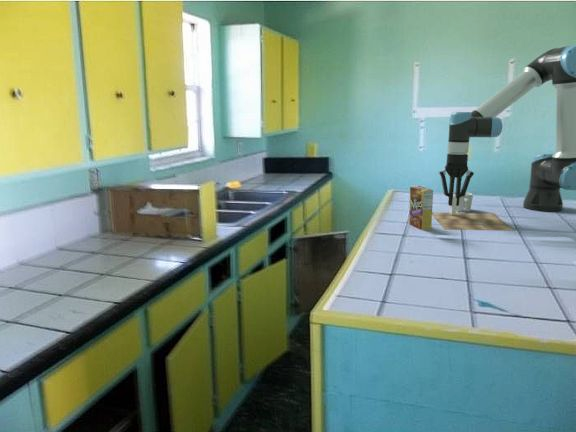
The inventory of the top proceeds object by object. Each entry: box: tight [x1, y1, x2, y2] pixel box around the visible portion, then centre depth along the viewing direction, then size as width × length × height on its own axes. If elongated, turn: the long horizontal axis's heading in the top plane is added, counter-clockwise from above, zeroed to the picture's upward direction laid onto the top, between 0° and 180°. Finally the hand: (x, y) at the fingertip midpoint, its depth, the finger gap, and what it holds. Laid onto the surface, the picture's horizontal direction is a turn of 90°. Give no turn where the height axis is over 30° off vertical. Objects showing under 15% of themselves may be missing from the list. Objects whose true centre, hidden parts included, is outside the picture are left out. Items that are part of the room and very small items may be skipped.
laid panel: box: [435, 219, 516, 232], centre depth 182 cm, size 24×16×1 cm, turn 85°
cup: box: [453, 191, 474, 213], centre depth 204 cm, size 11×8×8 cm
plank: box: [432, 212, 502, 220], centre depth 194 cm, size 24×8×1 cm, turn 85°
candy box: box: [408, 185, 434, 231], centre depth 178 cm, size 9×4×15 cm, turn 17°
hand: (452, 213), depth 196 cm, fingers closed
